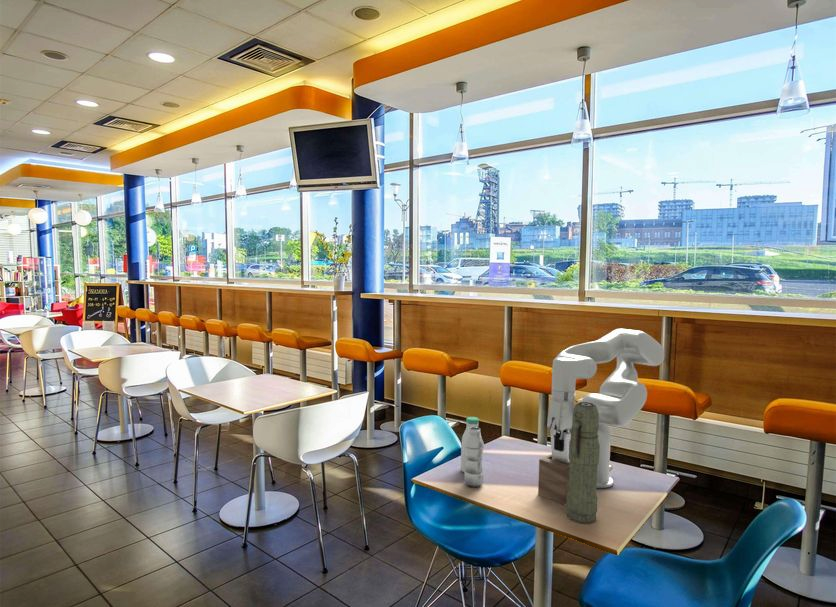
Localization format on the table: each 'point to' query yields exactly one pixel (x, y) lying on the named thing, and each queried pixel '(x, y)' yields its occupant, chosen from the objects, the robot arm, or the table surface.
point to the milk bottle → (470, 423)
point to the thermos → (583, 464)
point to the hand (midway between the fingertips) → (561, 449)
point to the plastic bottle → (474, 458)
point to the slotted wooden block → (553, 479)
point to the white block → (564, 455)
